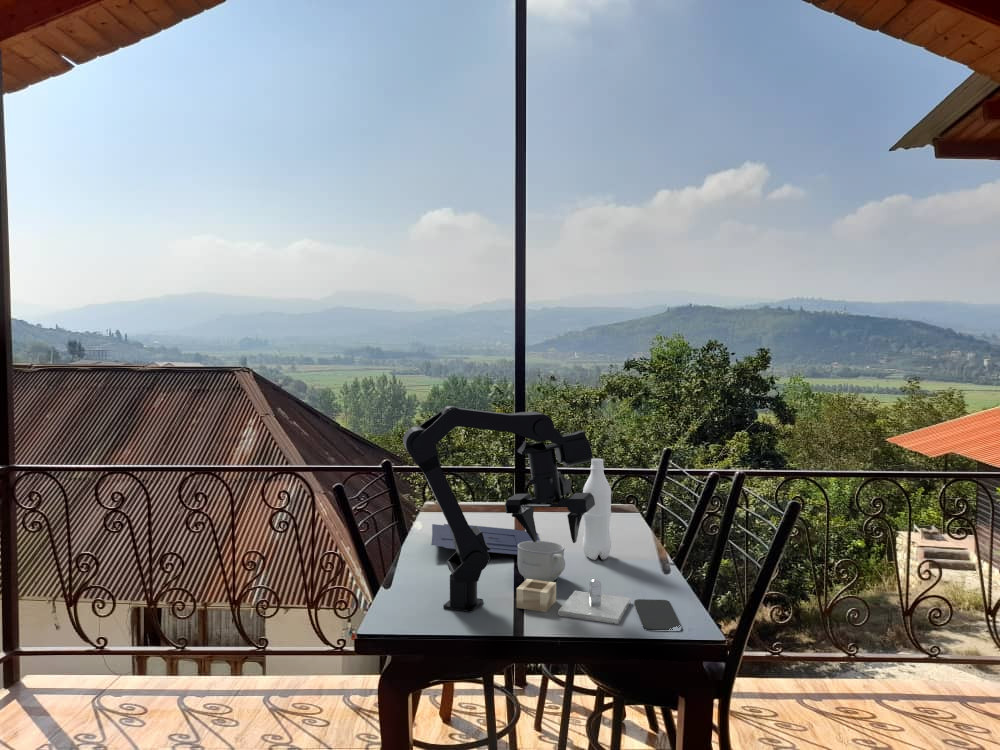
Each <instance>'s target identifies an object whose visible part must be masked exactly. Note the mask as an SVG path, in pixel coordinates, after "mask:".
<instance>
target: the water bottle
mask: <svg viewBox="0 0 1000 750" xmlns="http://www.w3.org/2000/svg"><path fill="white" fill-rule="evenodd" d="M590 462H591V465H590V467H589V468H590V474H589V476H588V478H587V480H586V482H585V484H584V485H583V488H582V490H583V491H582V493H591V494H592V495H593V497H594V501H595V505H594V506H593V507H592V508H591V509H590V510H589V511H588V512H586V513H585V514H584V515H583V516H582V518H583V522H584V532H583V538H582V550H583V553H584V555H585V557H586V558H589V559H590V560H593V561H595V560H597V559H598V556H599V557H600V558H601V560H606V559H608V557H609V556H610V553H611V549H612V540H611V539H612V538H611V533H610V526H611V525H610V522H611V516H612V488H611V486H610V483H609V481H608V480H607V477H606V475H605V473H604V471H605V470H604V469H605V466H604V459H603V458H595V457H594V458H592V460H591V461H590Z"/></svg>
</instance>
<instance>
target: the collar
mask: <svg viewBox="0 0 1000 750" xmlns="http://www.w3.org/2000/svg"><path fill="white" fill-rule="evenodd" d="M556 602H557V582H554V581H552V582H549V581H541V580H533V579H525V580H524V581H523V582H522V583H520V585H519V586H518V587H516V609H524V610H529V611H537V612H543V613H547V612H548V611H549V610H550V609H551V608H552V607H553V606H554V604H556Z"/></svg>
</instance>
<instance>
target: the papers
mask: <svg viewBox="0 0 1000 750" xmlns="http://www.w3.org/2000/svg"><path fill="white" fill-rule="evenodd" d="M468 525H469V526H470V528H471V529H472V528H473V527H474V526H475V525H473V524H472V525H470V524H468ZM476 526H477V527H478V528H479V529H480V531H481V532H482V534H483V537H484V540H485V543H486V544H487V545H488V547H489V548H490V550H487V551H488V553H494V554H495V553H497V554H508V555H516V556H518V547H517V546H518V544H519V543H522V542H526V541H533V540H532V539H531V537H530V536H529V534H528V533H527V532H526V530H520V529H513V528H503V527H493V526H492V527H491V526H483V525H476ZM431 530H432V531H431V532H432V533H431V543H430V545H431V546H435V547H436V546H437V547H443V548H445V549H451V550H456V549H455V545H454V541H453V537H452V532H451V529H450V527H449V525H448V523H447V524H446V523H444V524H435V523H432V524H431ZM537 541H541V540H540V537H539V534H538V533H537Z"/></svg>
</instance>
